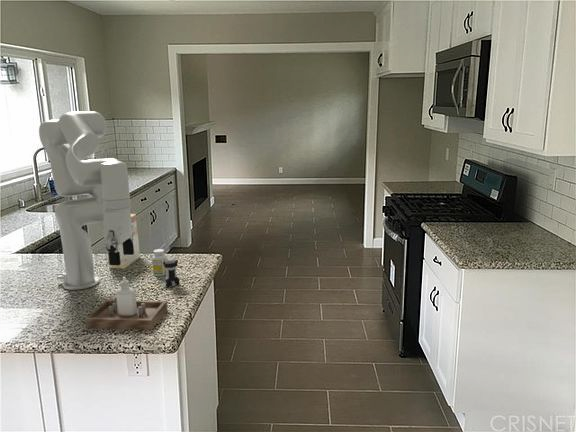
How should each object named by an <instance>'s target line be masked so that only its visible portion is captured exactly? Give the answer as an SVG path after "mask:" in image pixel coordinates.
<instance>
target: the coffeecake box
mask: <svg viewBox="0 0 576 432" xmlns="http://www.w3.org/2000/svg"><path fill="white" fill-rule="evenodd" d="M130 214H131V220H132V225H133V247H134V254H133V255H124V254H123V244H122V243H121V244H120V245H119V249H118V252H120V262H121V264H120V265H109V264H108V267H109V269H126V268H127V267H129V266H131V264H132V263H134V262H135V261H137V260H138V259H140V258H141V253H140V244H139V243H140V242H139V234H138V233H139V232H138V225H137V224H138V223H137V221H138V220H137V213H130ZM112 242H117V241H112ZM113 246H114V247H115V246H116V245H113ZM107 258H108V261H109V256H108V255H107Z"/></svg>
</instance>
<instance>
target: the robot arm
mask: <svg viewBox="0 0 576 432" xmlns="http://www.w3.org/2000/svg"><path fill="white" fill-rule="evenodd" d="M107 128H108V127H107V120H106V119H105V117H104V116H103V114H101V113H100V112H97V111H94V110H93V111H91V110H90V111H88V110H87V111H68V112H65V113H63V114H61V115H60V117H59V118H58V119H49V120H45V121H43V122H42V123H40V124H39V127H38V137H39V140H40V142H41V145H42V147H43V149H44V151H45V153H46V154H47V157H48V159H49V164H50V168H51V175H52V180H53V185H54V188H55V193H56V195H59V197H66V198H67V197H76V196H84V195H88V196H89V197H84V198H77V199H70V200H66V201H62V202H60V203H58V204H57V205H56V206H55V208H54V215H55V218H56V219H55V220H56V222H57V225H58V230H59V234H60V240H61V247H62V254H63V262H64V269H65V272H58V273H57V277H56V279H57V280H63V282H62V288H63V289H64V290H65V289H66V290H69V291H77V290H85V289H89V288H91V287H94V286H96V285H98V284H99V283H100V277H99V276H97V275H95V268H94V261H93V260H94V259H93V251H92V243H91V238H90V235H89V233H88V232H87V231H86V230H85V229H83V228H82V227H83V226H86V225H92V224H98V223H102V222H103V223H102V224H103V225H102V226H103V239H104V245H105V249H106V250H107V251H106V253H107V257H108V256H109V260H108V266H109V265H120V264H121V262H120V252H118V249H119V245H120V244H121V243H122V244H123V254H124V255H133V254H134V247H133V225H132V220H131V214H132V213H131V210H130V209H131V207H132V206H131V196H130V195H131V193H130V186H129V174H128V173H129V172H128V165H127V164H126V163H125V162H124V161H121V160H119V159H117V158H114V157H109V158H108V157H107V158H106V157H105V158H96V159H95V158H94V159H87V158H88V157H90V156H93V155H94V154H95V153H96V152H97V151H98V150H99V147H100V139H101V138H103V136H105V135H106V132H107ZM67 145H69V147H68V146H67ZM84 159H85V160H84ZM112 241H117V242H112ZM113 245H116V246H115V247H114V246H113Z"/></svg>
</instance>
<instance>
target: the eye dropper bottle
mask: <svg viewBox="0 0 576 432" xmlns="http://www.w3.org/2000/svg"><path fill="white" fill-rule="evenodd" d="M119 283H120V288H119V289H117V290H116V292H115V297H116V299H115V300H117V309H118V314H119V315H121V316H133V315H135V314H136V313H137V305H136V301H137V298H136V291H135V289H133V288H131V287H130V281H129V280H128V279H127V278H126V276H123V277H122V280H121V281H120V282H119Z"/></svg>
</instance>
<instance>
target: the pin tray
mask: <svg viewBox="0 0 576 432" xmlns="http://www.w3.org/2000/svg"><path fill="white" fill-rule="evenodd" d="M167 302H168V301H167V300H163V301H162V300H136V305H137V313H136V314H135V315H133V316H121V315H119V314H118V309H117V299H112V300H111V299H106V300H104V301H103V303H102V304H100V305H99V306H98V307H97V308H96V309H94V311H92V312H91V313H89V314H88V316H87V317H86V318H84V319H85V322H84V323H85V329H102V330H106V329H107V330H139V331H140V330H144V331H146V330H147V331H152V330H153V329H154V328H155V326H157V323H159V322H160V320H161V318H162V317H163V316H164V315H165V314H166V312H167V311H168V303H167Z"/></svg>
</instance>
